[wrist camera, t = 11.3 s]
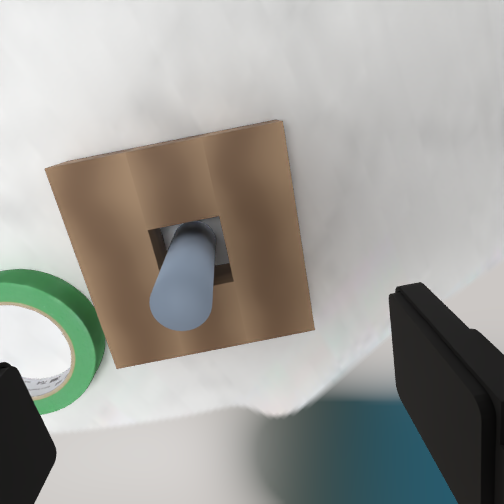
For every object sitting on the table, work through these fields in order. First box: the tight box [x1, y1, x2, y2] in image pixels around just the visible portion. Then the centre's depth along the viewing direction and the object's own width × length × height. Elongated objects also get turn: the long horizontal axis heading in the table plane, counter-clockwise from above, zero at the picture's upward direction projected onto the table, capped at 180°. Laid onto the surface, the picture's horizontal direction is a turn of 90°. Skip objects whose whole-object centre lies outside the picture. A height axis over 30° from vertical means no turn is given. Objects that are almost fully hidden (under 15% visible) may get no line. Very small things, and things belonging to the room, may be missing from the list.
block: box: [45, 120, 315, 369], centre depth 27 cm, size 14×14×4 cm
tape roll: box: [0, 269, 105, 415], centre depth 30 cm, size 11×11×3 cm
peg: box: [149, 221, 216, 331], centre depth 24 cm, size 3×3×10 cm
